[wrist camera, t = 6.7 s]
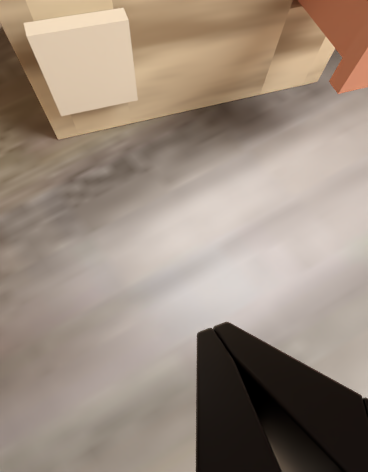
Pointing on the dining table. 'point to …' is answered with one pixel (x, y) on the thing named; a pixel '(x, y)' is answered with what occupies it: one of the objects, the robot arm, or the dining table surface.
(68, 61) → the cream plug
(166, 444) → the dining table surface
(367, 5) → the terracotta plug
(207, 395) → the robot arm
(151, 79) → the socket block
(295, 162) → the dining table surface
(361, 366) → the dining table surface
